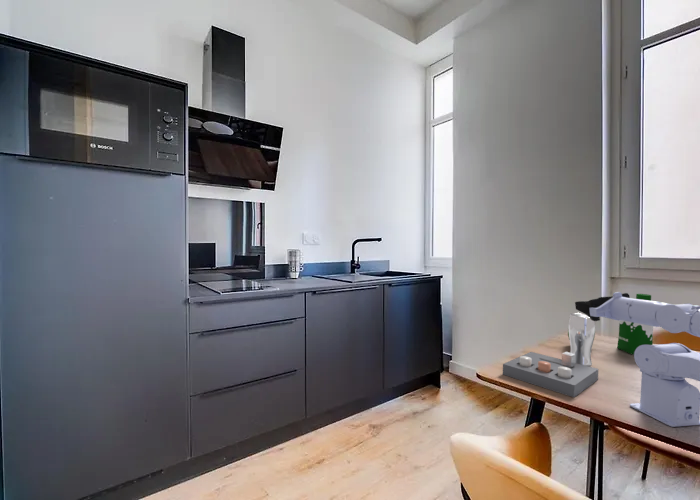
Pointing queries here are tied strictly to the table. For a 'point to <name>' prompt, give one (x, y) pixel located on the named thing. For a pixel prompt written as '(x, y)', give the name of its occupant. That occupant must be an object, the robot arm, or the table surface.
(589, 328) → the beer glass
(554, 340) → the table surface
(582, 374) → the control panel
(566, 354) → the slider knob
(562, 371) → the near button
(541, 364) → the middle button
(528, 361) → the far button
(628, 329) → the milk carton
